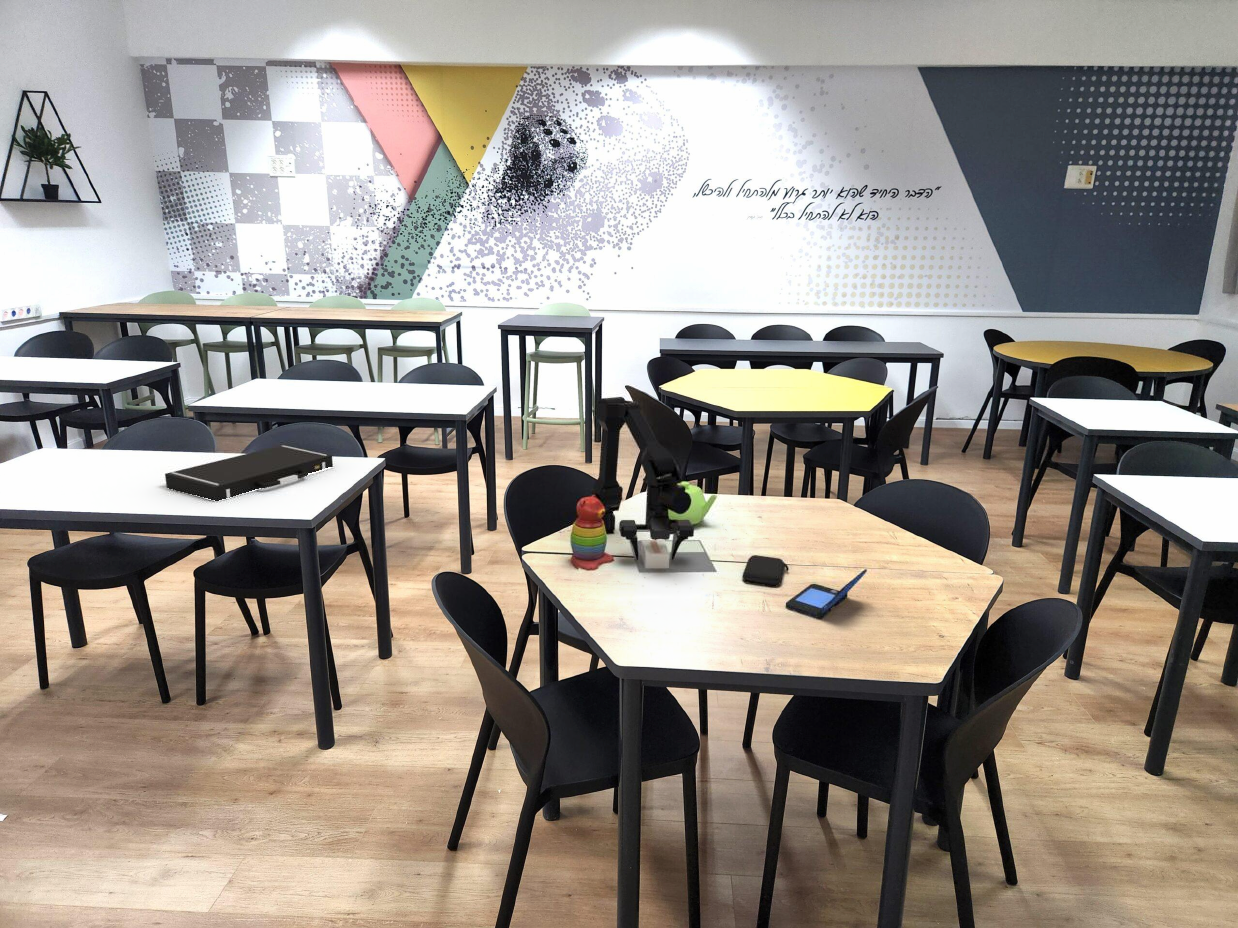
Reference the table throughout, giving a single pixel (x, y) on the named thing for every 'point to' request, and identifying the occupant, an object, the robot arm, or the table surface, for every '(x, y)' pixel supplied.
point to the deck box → (655, 554)
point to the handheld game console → (820, 598)
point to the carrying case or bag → (764, 570)
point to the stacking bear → (589, 535)
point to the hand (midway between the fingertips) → (654, 559)
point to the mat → (679, 558)
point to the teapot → (694, 505)
